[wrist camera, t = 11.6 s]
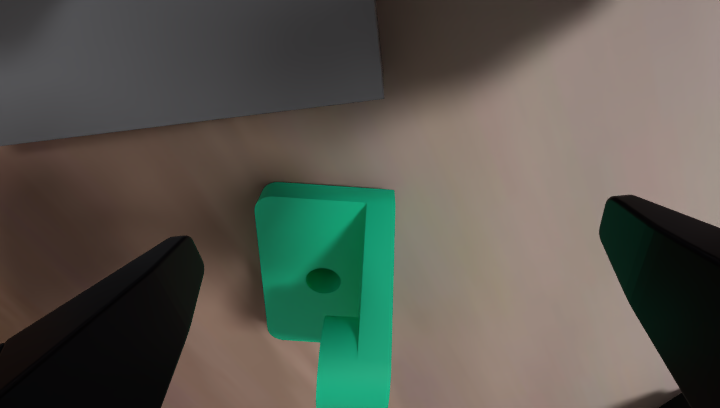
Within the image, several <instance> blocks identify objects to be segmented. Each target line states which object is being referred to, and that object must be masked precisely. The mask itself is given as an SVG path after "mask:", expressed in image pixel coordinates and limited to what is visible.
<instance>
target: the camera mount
mask: <svg viewBox="0 0 720 408" xmlns="http://www.w3.org/2000/svg"><path fill="white" fill-rule="evenodd" d="M254 211H255V221H256V229H257V238H258V247H259V256H260V265H261V274H262V283H263V292H264V301H265V310H266V318H267V327H268V331H269V333H270V334H271V335H272V336H273V337H275V338H277V339H281V340H292V341H307V342H321V343H320V352H319V362H318V373H317V388H316V408H388V403H389V394H390V381H391V353H392V315H393V276H394V237H395V193H394V190H387V189H373V188H358V187H343V186H329V185H314V184H299V183H285V182H273V183H270V184H268V185H267V186H265V187H264V189H263V190H262V193H261V195H260V197H259V199H258V201H257V203H256V205H255V210H254Z"/></svg>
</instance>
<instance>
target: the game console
mask: <svg viewBox="0 0 720 408" xmlns="http://www.w3.org/2000/svg"><path fill="white" fill-rule="evenodd" d="M659 408H691V406H690V405H689V403H688V401H687V400H686V398H685V396H684V395H683V393H681V394H679V395H678V396H676V397H675V398H673V399H672V400H670V401H669V402H667V403H665V404H664V405H662V406H661V407H659Z"/></svg>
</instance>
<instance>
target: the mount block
mask: <svg viewBox="0 0 720 408" xmlns="http://www.w3.org/2000/svg"><path fill="white" fill-rule="evenodd" d="M378 99H384V83H383V67H382V58H381V48H380V38H379V29H378V19H377V9H376V0H0V146H5V145H13V144H21V143H29V142H37V141H45V140H53V139H61V138H70V137H78V136H86V135H94V134H102V133H110V132H118V131H126V130H135V129H143V128H151V127H159V126H167V125H175V124H183V123H191V122H199V121H208V120H216V119H224V118H232V117H240V116H248V115H256V114H264V113H273V112H281V111H289V110H297V109H305V108H313V107H321V106H329V105H338V104H346V103H354V102H362V101H370V100H378Z"/></svg>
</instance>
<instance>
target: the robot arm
mask: <svg viewBox="0 0 720 408" xmlns="http://www.w3.org/2000/svg"><path fill="white" fill-rule="evenodd" d="M599 235H600V240H601V242H602V244H603V247H604V249H605V251H606V253H607V256H608V258H609V260H610V262H611V264H612V267H613V269H614V271H615V273H616V276H617V278H618V280H619V282H620V285H621V287H622V289H623V291H624V293H625V295H626V298H627V300H628V302H629V304H630V305H631V307H632V309H633V311H634V312H635V314H636V316H637V318H638V319H639V321H640V323H641V324H642V326H643V328H644V329H645V331H646V333H647V334H648V336H649V338H650V339H651V341H652V343H653V344H654V346H655V348H656V349H657V351H658V353H659V354H660V356H661V358H662V359H663V361H664V363H665V364H666V366H667V368H668V369H669V371H670V373H671V374H672V376H673V378H674V380H675V381H676V383H677V385H678V386H679V388H680V390H681V391H682V393H683V395H684V396H685V398H686V400H687V401H688V403H689V405H690V406H691V408H720V228H719V227H716V226H713V225H711V224H708V223H705V222H703V221H700V220H697V219H695V218H692V217H690V216H687V215H684V214H682V213H679V212H676V211H674V210H671V209H669V208H666V207H663V206H661V205H658V204H655V203H653V202H650V201H648V200H645V199H642V198H640V197H637V196H634V195H621V196H612V197H610V198H609V199H608V200H607V201H606V204H605V208H604V212H603V216H602V220H601V224H600V229H599ZM203 274H204V264H203V261H202V258H201V256H200V254H199V252H198V250H197V248H196V246H195V244H194V242H193V240H192V238H191V237H189V236H175V237H170V238H168V239H166V240H165V241H163V242H162V243H160V244H158V245H157V246H155V247H154V248H152V249H150V250H149V251H147V252H146V253H144V254H143V255H141V256H139V257H138V258H136V259H135V260H133V261H131V262H130V263H128V264H127V265H125V266H124V267H122V268H120V269H119V270H117V271H116V272H114V273H112V274H111V275H109V276H108V277H106V278H104V279H103V280H101V281H100V282H98V283H97V284H95V285H93V286H92V287H90V288H89V289H87V290H85V291H84V292H82V293H81V294H79V295H78V296H76V297H74V298H73V299H71V300H70V301H68V302H66V303H65V304H63V305H62V306H60V307H58V308H57V309H55V310H54V311H52V312H51V313H49V314H47V315H46V316H44V317H43V318H41V319H39V320H38V321H36V322H35V323H33V324H32V325H30V326H28V327H27V328H25V329H24V330H22V331H20V332H19V333H17V334H16V335H14V336H13V337H11V338H9V339H8V340H7V341H6V342H5V343H2V344H0V408H161V406H162V403H163V401H164V398H165V395H166V393H167V390H168V387H169V384H170V382H171V379H172V376H173V374H174V371H175V368H176V366H177V363H178V360H179V357H180V355H181V352H182V349H183V347H184V344H185V341H186V338H187V335H188V332H189V329H190V326H191V322H192V318H193V314H194V310H195V306H196V302H197V298H198V294H199V290H200V286H201V282H202V278H203Z"/></svg>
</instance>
